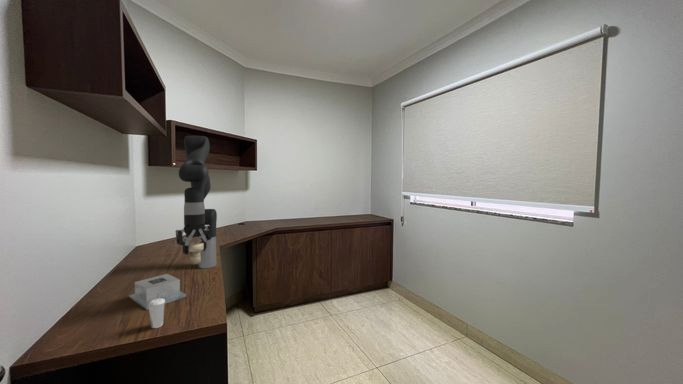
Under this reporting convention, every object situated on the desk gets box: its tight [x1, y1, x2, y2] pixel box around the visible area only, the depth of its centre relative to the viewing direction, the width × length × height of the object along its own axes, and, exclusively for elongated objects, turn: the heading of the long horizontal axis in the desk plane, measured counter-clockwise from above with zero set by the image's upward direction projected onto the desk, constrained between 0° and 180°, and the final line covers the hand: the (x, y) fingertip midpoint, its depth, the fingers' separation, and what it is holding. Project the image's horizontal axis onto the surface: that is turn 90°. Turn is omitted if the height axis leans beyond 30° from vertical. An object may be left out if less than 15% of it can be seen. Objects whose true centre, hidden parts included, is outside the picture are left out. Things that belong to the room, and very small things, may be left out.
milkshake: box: [148, 293, 166, 329], centre depth 86 cm, size 5×5×10 cm
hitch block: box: [128, 273, 187, 311], centre depth 107 cm, size 18×14×7 cm
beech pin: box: [188, 241, 204, 265], centre depth 107 cm, size 6×6×8 cm
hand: (194, 252), depth 107 cm, fingers closed on beech pin, 6 cm apart
